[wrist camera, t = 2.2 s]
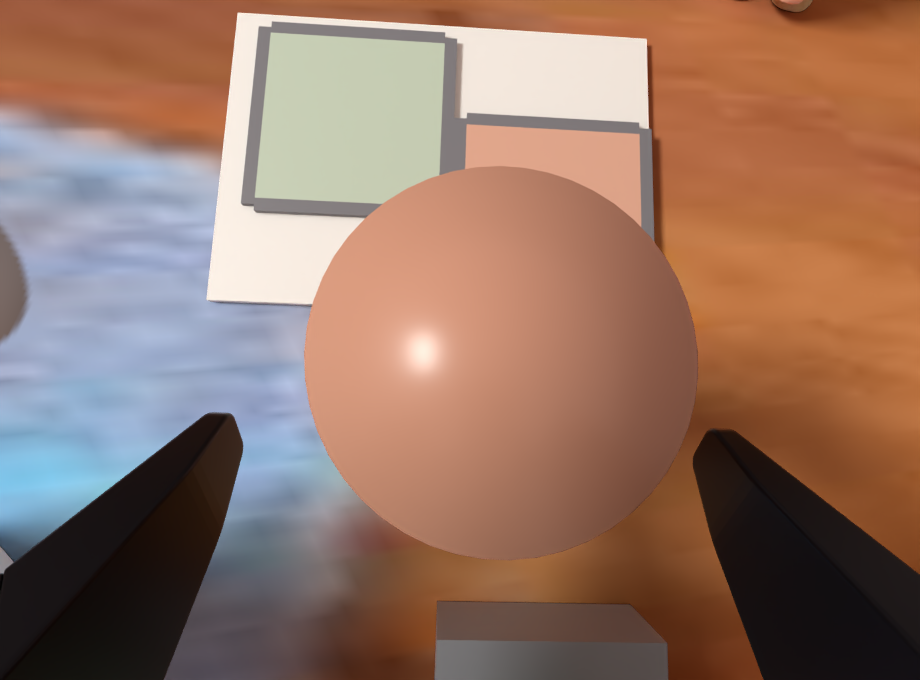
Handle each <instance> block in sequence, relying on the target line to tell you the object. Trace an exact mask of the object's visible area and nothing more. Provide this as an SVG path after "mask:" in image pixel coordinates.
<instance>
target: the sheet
mask: <svg viewBox="0 0 920 680" xmlns="http://www.w3.org/2000/svg"><path fill="white" fill-rule="evenodd" d="M490 166H507V167H520V168H528V169H533V170H538V171H543V172H548V173H551V174H554V175H557V176H560V177H563V178H566V179H569V180H572V181H574V182H576V183H579V184H581V185H583V186H585V187H587V188H589V189H591V190H593V191H595V192H597V193H598V194H600V195H601V196H603V197H605V198H606V199H608V200H609V201H611V202H612V203H614V204H615V205H617V206H618V207H619V208H620V209H621V210H623V211H624V212H625V213H626V214H628V215H629V216H630V217H631V218H633V219H634V220H635V221H636V222H637V223H638V225H639V226H640V227H641V228H642V229H643V230H644V231H645V232H646V233H647V234H648V235H649V236H650V237H651V238H652V240H653V241H654V210H653V170H652V129H649V116H648V75H647V39H640V38H625V37H609V36H593V35H578V34H562V33H547V32H531V31H515V30H500V29H484V28H468V27H453V26H437V25H422V24H406V23H390V22H375V21H359V20H343V19H328V18H312V17H297V16H281V15H265V14H250V13H238V16H237V25H236V34H235V44H234V53H233V62H232V71H231V80H230V89H229V98H228V108H227V117H226V126H225V135H224V144H223V153H222V163H221V172H220V181H219V190H218V199H217V208H216V218H215V227H214V236H213V245H212V254H211V263H210V273H209V282H208V291H207V300H208V301H210V302H234V303H258V304H283V305H307V306H312V304H313V300H314V298H315V295H316V293H317V290H318V287H319V285H320V282H321V280H322V277H323V275H324V274H325V272H326V270H327V268H328V266H329V264H330V263H331V261H332V259H333V257H334V255H335V254H336V253H337V251H338V250H339V248H340V247H341V246H342V244H343V243H344V242H345V240H346V239H347V237H348V236H349V235H350V234H351V233H352V232H353V231H354V230H355V229H356V228H357V226H358V225H359V224H360V223H361V222H362V221H363V220H364V219H365V218H366V217H367V216H368V215H370V214H371V213H372V212H373V211H375V210H376V209H377V208H378V207H380V206H381V205H382V204H383V203H384V202H386V201H387V200H389V199H391V198H392V197H394V196H395V195H397V194H399V193H400V192H402V191H404V190H405V189H407V188H409V187H411V186H414V185H416V184H418V183H420V182H422V181H425V180H427V179H429V178H432V177H436V176H439V175H442V174H445V173H449V172H452V171H457V170H463V169H469V168H474V167H490Z"/></svg>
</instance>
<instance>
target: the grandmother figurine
mask: <svg viewBox="0 0 920 680" xmlns="http://www.w3.org/2000/svg"><path fill="white" fill-rule="evenodd" d="M812 1H813V0H772V2H773V3H774V4H775V5H776V6H777V7H779V8H781V9H783V10H787V11H792V12H800V11H803V10H805V9H806V8H807V7H808V6H809V5H810V4H811V2H812Z"/></svg>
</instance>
